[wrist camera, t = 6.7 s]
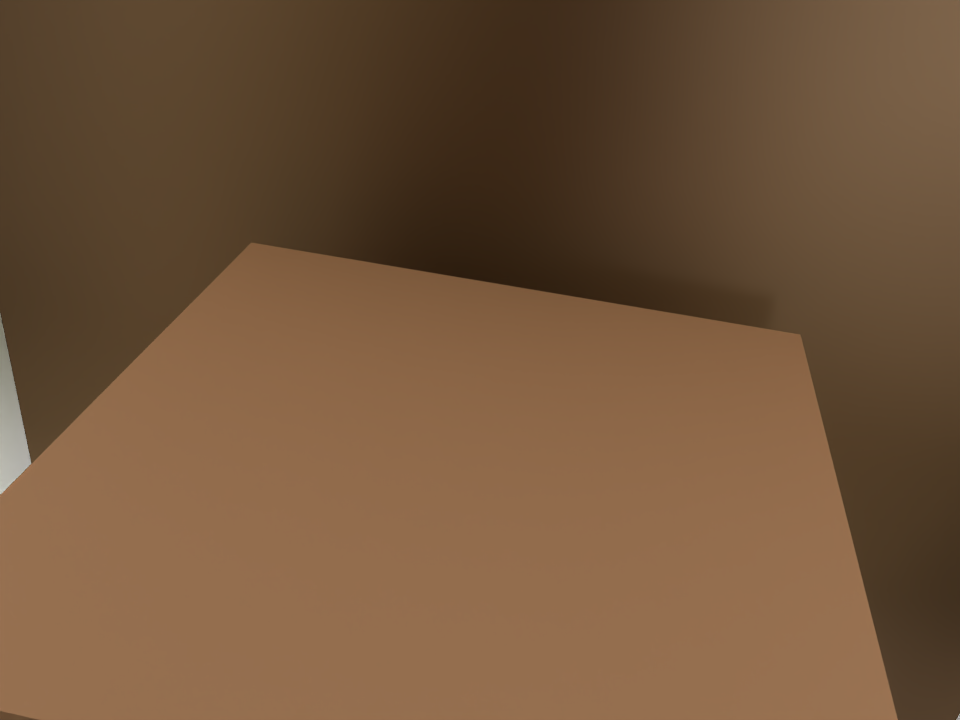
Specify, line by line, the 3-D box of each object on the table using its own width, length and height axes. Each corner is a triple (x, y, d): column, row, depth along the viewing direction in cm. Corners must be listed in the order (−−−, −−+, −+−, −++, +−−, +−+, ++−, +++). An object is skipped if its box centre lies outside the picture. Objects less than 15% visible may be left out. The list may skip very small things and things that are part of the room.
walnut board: (1390, -362, 7) (1612, -417, 6) (812, 817, 16) (830, 938, 14) (-10, -480, 8) (-179, -557, 7) (152, 671, 17) (94, 767, 15)
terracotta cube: (801, 334, 8) (949, 928, 4) (679, 707, 10) (685, 1304, 6) (250, 243, 8) (-176, 671, 4) (266, 619, 11) (14, 1117, 7)
